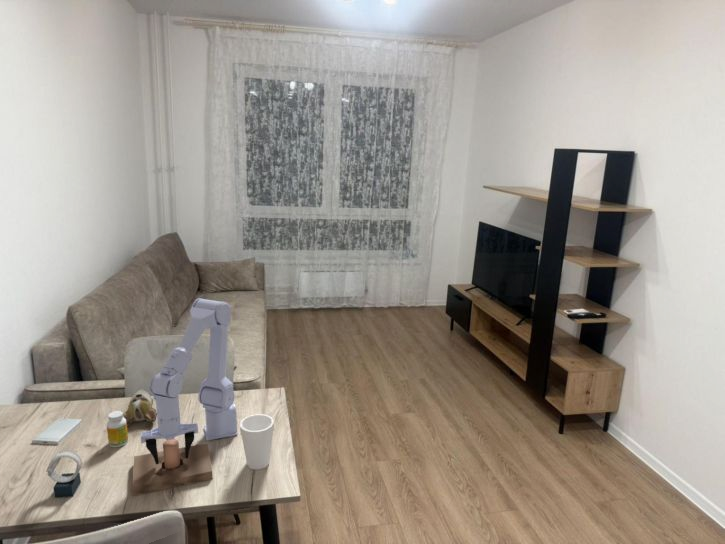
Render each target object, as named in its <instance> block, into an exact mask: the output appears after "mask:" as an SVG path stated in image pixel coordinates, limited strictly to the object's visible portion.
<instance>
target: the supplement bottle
mask: <svg viewBox="0 0 725 544" xmlns="http://www.w3.org/2000/svg"><path fill="white" fill-rule="evenodd" d="M123 414H124V412H123V411H121V410H114V411H112V412H110V413H108V415H107V419H108V421H107V422H106V431H107V441H108V442H107V443H108V445H109V447H111V448H120V447H123V446H124V445H126V444H127V443H128V442H129V434H128V425H127V423H126V419H125V418H124V417H123Z"/></svg>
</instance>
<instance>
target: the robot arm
mask: <svg viewBox="0 0 725 544" xmlns="http://www.w3.org/2000/svg"><path fill="white" fill-rule="evenodd" d="M231 310H232V307H231V306H230V304H229V303H228V302H226V301H220V300H218V301H217V300H212V299H205V298H202V297H198V298H196V299H195V300H194V301H193V303H192V305H191V307H190V310H189V315H190V321H189V322H188V324H187V327H186V330H185V332H184V334H183V337H182V339H181V341H180V344H179V346H178V347H175V348H173V349H172V350H171V353H169V356H168V358H166V359H167V360H166V361H165V362H164V365H163V366H162V368H161V370H160V372H159V373H156V374H155V375H154V376H153V377H152V378H151V381H150V385H149V388H148V389H149V392H150V393H151V394H152V396H153V400H154V401H155V409H156V413H157V417H156V421H157V427H156V428H154V429H151V430H147V431H144V432H140V442H141V444H143V443H144V444H145V447H146V450H148V452H150V454H152V456H153V457H154V460H155V463H156V464H159V459H158V452H159V451H158V446H157V440H159V439H162V440H164V439H165V441H167V440H172V439H175V438H176V437H178V436H181V435H184V447H185V458H186V459H187V458H188V454H189V450H190V447H191V446H192V445H193V442H194V440H195V435H196V434H199V425H198V423H181V414H180V400H179V399H180V398H179V394H180V393H181V392H182V389H183V386H184V384H183V383H184V380H185V373H186V371H187V369H188V367H189V366H190V363H191V361H192V359H193V356H192V351H193V349H194V348H195V345H196V344H197V343H198V341H199V339H200V338H201V336H202V335H203V333H204V331H205V330H206V329H210V332H209V349H208V350H209V351H208V371H207V377H206V378H205V379H204V380H202V381H201V382H200V389H199V391H198V396H197V397H198V398H197V399H198V402H199V403H200V404H201V405H202V408H203V409H204V411H205V415H204V416H205V426H204V435H205V440H206V441H211V440H216V439H222V438H228V437H233V436H238V418H237V417H238V416H237V415H238V414H237V407H236V403H235V402H234V401H235V398H236V397H235V392H234V383H233V382H232V381H231V380H230V379H229V378H228V377H227V376H226V374H227V362H228V361H227V357H228V340H229V339H228V337H229V327H230V326H231V312H232V311H231Z"/></svg>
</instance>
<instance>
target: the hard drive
mask: <svg viewBox="0 0 725 544" xmlns="http://www.w3.org/2000/svg"><path fill="white" fill-rule="evenodd" d="M82 423H83V419H80V418H60V417H58V418H57V419H56V420H55V421H54V422H52V423H51V424H50V425H49V426H47V427H46V428H45V429H44V430H43V431H41V432H40V433H39V434H38V435H37V436H36V437H34V438H33V439H32V440H31V444H41V445H42V444H43V445H46V444H47V445H59V444H61V443H62V442H63V441H64V440H65V439H66V438H67V437H69V435H70V434H72V433H73V432H74V431H75V430H76V429H77V428H78V427H80V426H81V424H82Z"/></svg>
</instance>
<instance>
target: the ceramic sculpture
mask: <svg viewBox="0 0 725 544" xmlns="http://www.w3.org/2000/svg"><path fill="white" fill-rule="evenodd" d="M153 403H154V397H152V396H151V394H150V393H148V391H146V390H144V389H143V388H140V389H139V390H138V391H137V392H135V393H134V394H133V396H131V399H130V401H129V404H128V407H127V410H126V411H125V412H123V417H124V418H125V419H126V423H127V426H129V425H131V424H132V423H133V422H142V421H145V420H146V421H147V422H149V423H155V421H157V409H156V408H154V407H153Z"/></svg>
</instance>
